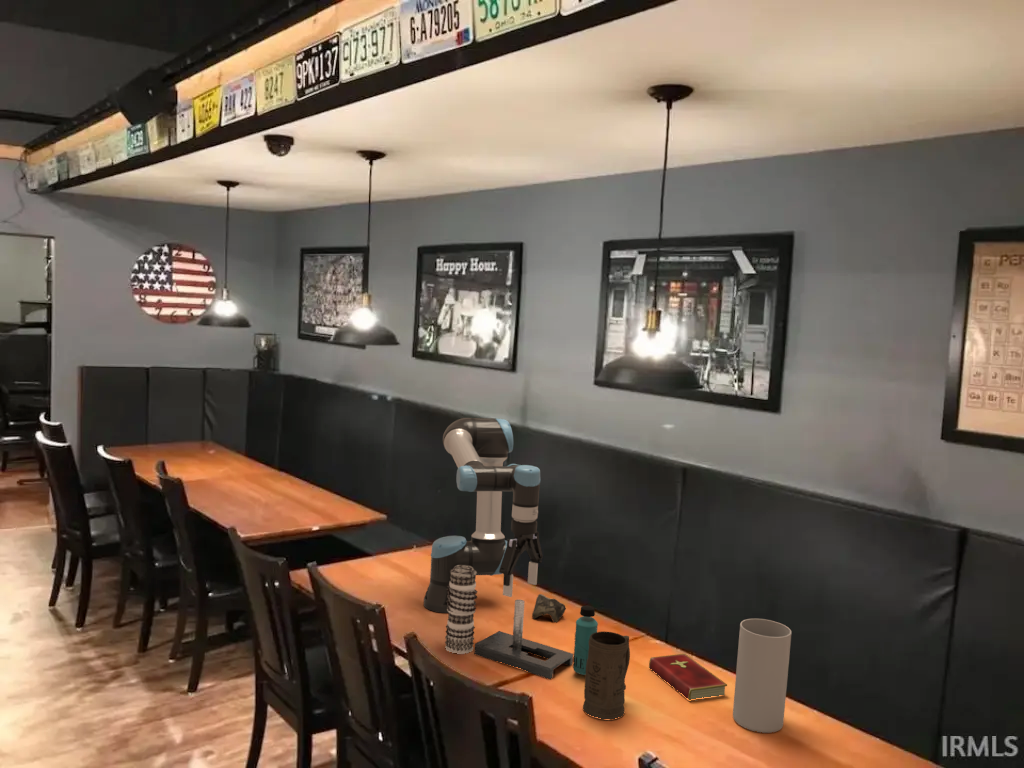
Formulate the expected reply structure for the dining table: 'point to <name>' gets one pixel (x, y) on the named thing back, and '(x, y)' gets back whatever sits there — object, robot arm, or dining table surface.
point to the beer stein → (606, 675)
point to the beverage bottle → (583, 638)
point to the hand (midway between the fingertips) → (520, 589)
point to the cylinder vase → (761, 675)
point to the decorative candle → (461, 609)
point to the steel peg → (518, 625)
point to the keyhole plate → (522, 654)
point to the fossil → (548, 608)
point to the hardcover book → (687, 676)
